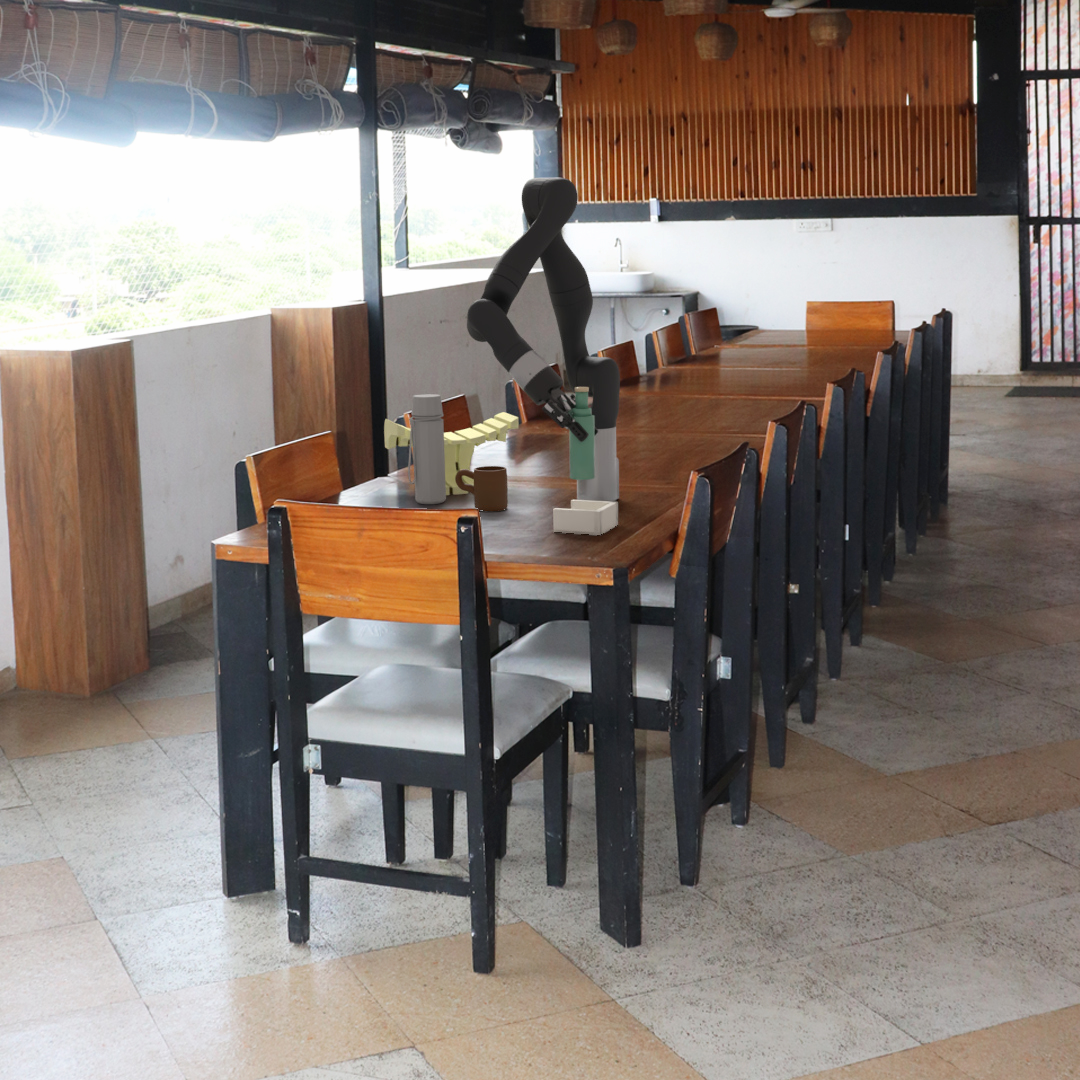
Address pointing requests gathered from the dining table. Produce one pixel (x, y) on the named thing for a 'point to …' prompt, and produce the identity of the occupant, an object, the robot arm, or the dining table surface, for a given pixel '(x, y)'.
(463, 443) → the slatted curved stool
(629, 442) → the dining table surface
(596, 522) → the holder
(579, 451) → the green bottle
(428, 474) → the water bottle
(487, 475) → the mug
